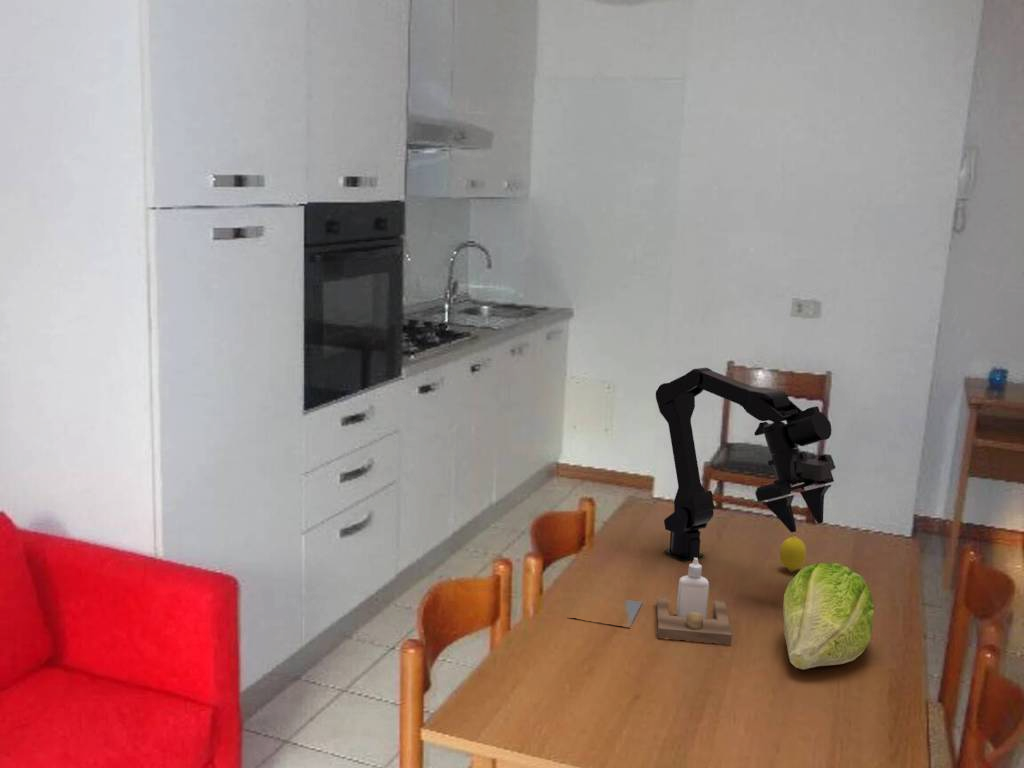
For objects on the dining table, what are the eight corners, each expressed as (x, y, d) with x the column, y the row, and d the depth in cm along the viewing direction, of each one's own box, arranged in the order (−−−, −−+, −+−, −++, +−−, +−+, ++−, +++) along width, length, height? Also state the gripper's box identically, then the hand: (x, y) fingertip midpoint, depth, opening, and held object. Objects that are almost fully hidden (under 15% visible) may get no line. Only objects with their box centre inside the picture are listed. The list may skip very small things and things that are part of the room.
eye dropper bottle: (700, 625, 186) (705, 565, 184) (673, 617, 189) (677, 558, 187) (709, 617, 190) (714, 558, 188) (682, 610, 193) (686, 551, 191)
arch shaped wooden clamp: (656, 605, 195) (658, 585, 194) (723, 610, 193) (725, 591, 192) (658, 638, 180) (659, 618, 179) (730, 645, 179) (732, 624, 178)
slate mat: (583, 594, 199) (583, 592, 198) (642, 604, 195) (642, 602, 195) (567, 617, 187) (567, 615, 187) (629, 628, 184) (630, 626, 184)
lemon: (807, 576, 212) (811, 541, 211) (781, 575, 212) (785, 540, 211) (800, 567, 218) (804, 532, 216) (775, 566, 218) (778, 531, 216)
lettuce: (845, 710, 165) (756, 686, 175) (891, 621, 182) (808, 604, 192) (837, 638, 160) (745, 617, 169) (885, 553, 177) (800, 539, 187)
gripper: (789, 448, 187) (813, 529, 184) (844, 436, 199) (867, 512, 196) (744, 461, 195) (766, 539, 193) (799, 448, 207) (821, 521, 205)
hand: (807, 527), depth 196 cm, fingers open, 9 cm apart
